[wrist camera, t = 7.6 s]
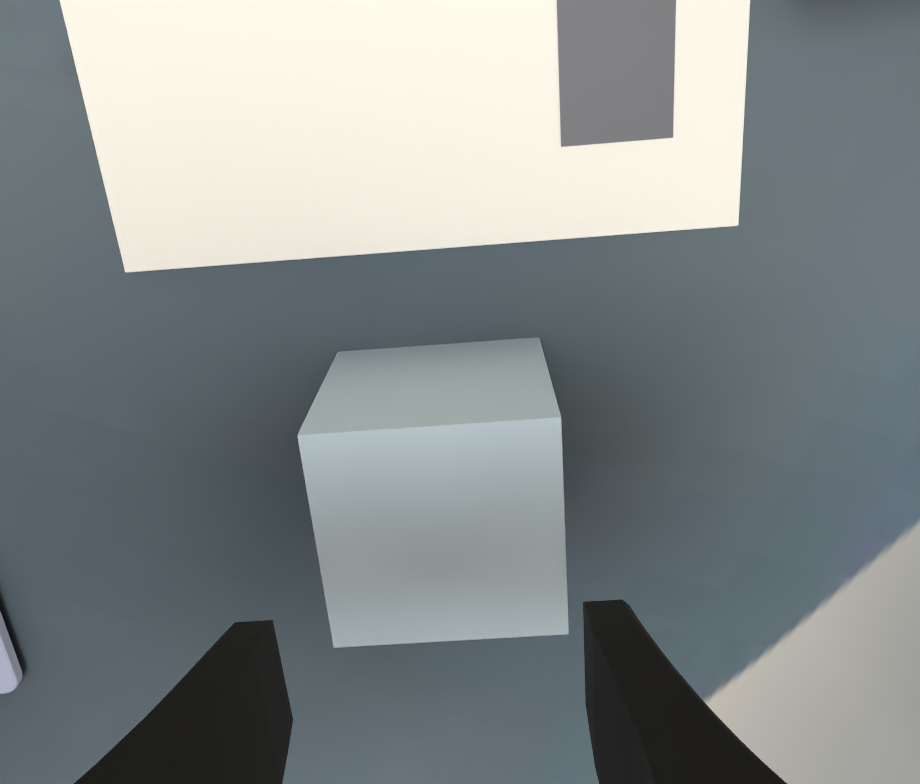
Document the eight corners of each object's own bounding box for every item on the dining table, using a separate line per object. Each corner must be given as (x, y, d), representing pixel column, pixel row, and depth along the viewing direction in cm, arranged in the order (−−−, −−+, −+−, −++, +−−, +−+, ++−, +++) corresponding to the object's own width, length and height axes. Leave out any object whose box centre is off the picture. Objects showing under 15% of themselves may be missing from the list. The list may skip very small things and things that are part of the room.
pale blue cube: (363, 523, 21) (333, 647, 17) (338, 350, 19) (297, 435, 15) (546, 512, 21) (568, 634, 16) (539, 336, 19) (560, 417, 15)
